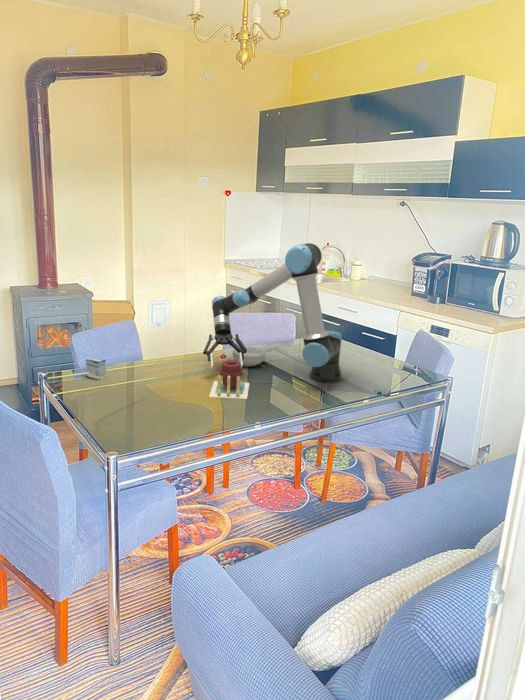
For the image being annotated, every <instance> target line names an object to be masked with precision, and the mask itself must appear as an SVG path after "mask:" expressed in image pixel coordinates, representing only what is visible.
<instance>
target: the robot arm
mask: <svg viewBox="0 0 525 700" xmlns="http://www.w3.org/2000/svg"><path fill="white" fill-rule="evenodd" d="M322 256H323V255H322V251H321V249H320V247H318V245H316V244H315V243H309V242H306V243H301V244H296V245H294V246H292V247H290V248H289V249H288V251H287V252H286V254H285V258H284V263H283V264H282V265H281V266H278V267H277V268H276V269H274V270H273V271H271V272H270V273H268V274H266V275H265V276H264V277H262V278H261V279H259V280H258V281H256V282H254V283H253V284H251V285H250V286H249V287H247V288H245V289H239V290H237V291H234V292H233V293H231V294H230V295H228V296H223V295H219V296H214V297H213V299H212V301H211V303H212V304H211V305H212V306H211V309H212V315H213V316H212V317H213V326H214V335H212V334H210V333H209V336H208V339H207V340H208V341H207V343H206V344H205V347H204V349H203V352H202V355H206V357H207V362H209V363H210V369H211V370H212V369H213V368H214V360H213V352H214V350H216V348H217V347H218V346H219V345H221V346H222V345H223V346H224V345H226V346H227V345H229V346H231V348H233V349H235V350H236V351H237V352H238V353H239V362H240V363H241V369H242V368H243V367H244V366H243V362H242V360H244V353H246V352H247V349H246V347H247V346H245V345H244V343H243V342H242V340H241V339H240V338H239V334H237V333H235V335H233V334H232V330H231V322H230V313H232V312H234V311H236V310H238V309H241V308H244V307H245V306H248V305H251V304H254V303H256V302H257V301H258V300H259V299H260V298H263V297H264V296H266V295H267V294H269V293H270V292H272V291H273V290H275V289H277V288H278V287H279V286H281V285H283V284H285V283H286V282H287V281H289V280H291V279H292V280H294V281H295V282H296V283H295V284H296V287H297V292H298V298H299V305H300V309H301V315H302V321H303V325H304V330H305V331H304V332H305V334H304V336H303V339H302V340H303V345H304V347H303V348H302V359H303V360H304V361H305V363H306V364H307V365H308V366H311V368H310V371H309V377H310V379H311V380H314V381H316V382H319V381H320V383H326V382H332V383H336V382H335V381H338V380H340V379H341V380H342V376H343V375H342V370H341V365H340V356H341V346H342V334H341V333H340V332H339V331H336V330H335V331H334V330H328V329H325V324H324V319H323V314H322V308H321V302H320V296H319V291H318V284H317V280H316V277H317V275H318V274H319V271H318V270H319V269H318V266H319V265H320V263H321V261H322ZM233 339H234V340H233ZM213 340H215V342H214V343H213V345H212V346H211V347H210V345H211V343H212V341H213ZM234 341H235V342H236V343H235V342H234ZM209 347H210V348H209ZM208 349H209V350H208ZM341 380H340V381H341ZM338 382H339V381H338Z"/></svg>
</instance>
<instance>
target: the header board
mask: <svg viewBox="0 0 525 700" xmlns="http://www.w3.org/2000/svg"><path fill="white" fill-rule="evenodd" d="M217 388H218V380H214V382H213V384H212V387H211V390H210V392H209V395H208V397H209V398H220V399H221V398H222V399H242V400H247V399H248V394H249V388H250V382H241V381H240V395H239V397H236V388H233V389H231V390H230V396H229V397H227V387H226V386H224V385H223V380H221V396H217Z"/></svg>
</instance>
